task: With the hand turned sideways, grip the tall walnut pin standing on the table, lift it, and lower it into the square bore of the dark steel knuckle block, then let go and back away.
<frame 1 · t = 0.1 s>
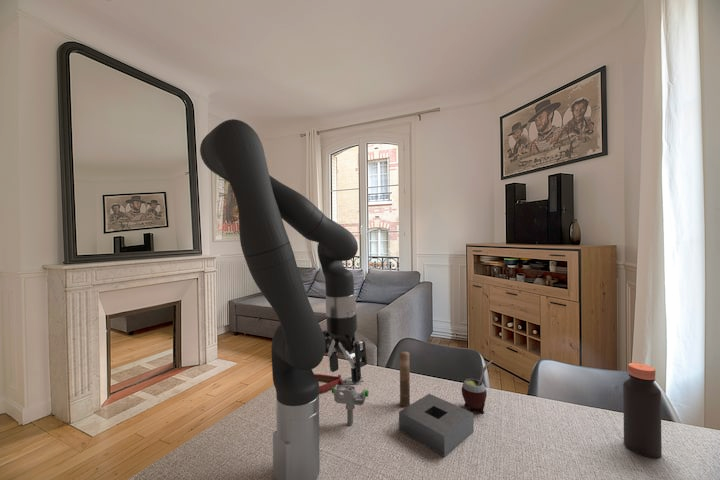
hand: (345, 376, 76), 17 cm above the table, fingers open, 8 cm apart
knuckle block: (436, 430, 81), on the table
mechanical component: (350, 424, 84), on the table
pliers: (331, 388, 106), on the table
pin: (404, 404, 94), on the table
mate gourd: (475, 409, 92), on the table
bottle: (642, 449, 74), on the table
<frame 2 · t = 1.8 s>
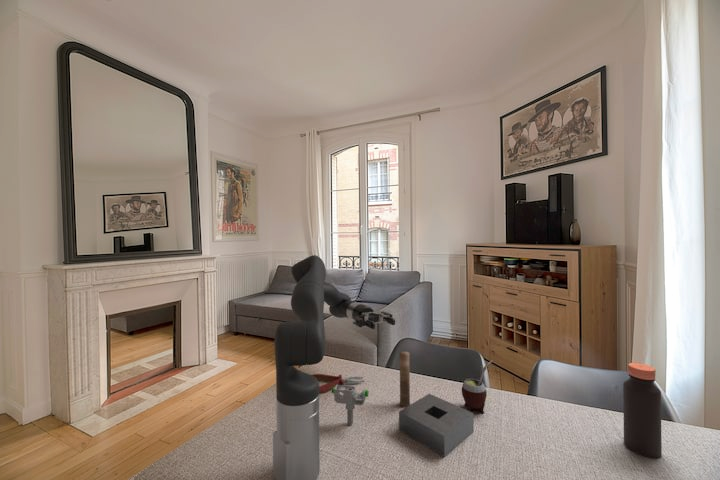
hand: (384, 324, 103), 23 cm above the table, fingers open, 8 cm apart
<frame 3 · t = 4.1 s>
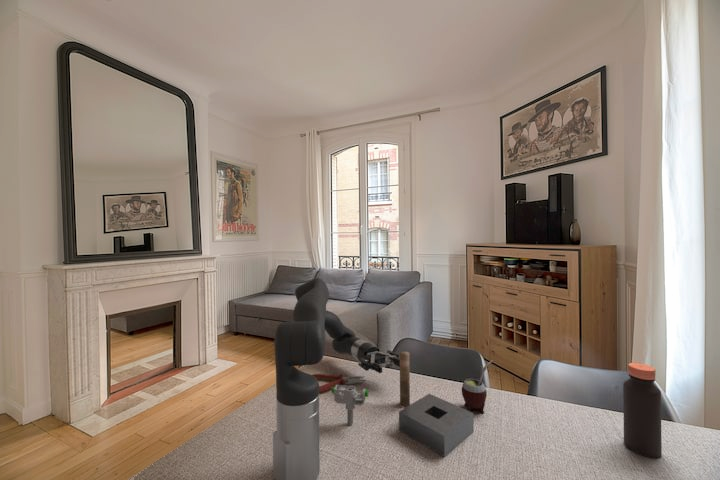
hand: (391, 367, 99), 9 cm above the table, fingers open, 8 cm apart
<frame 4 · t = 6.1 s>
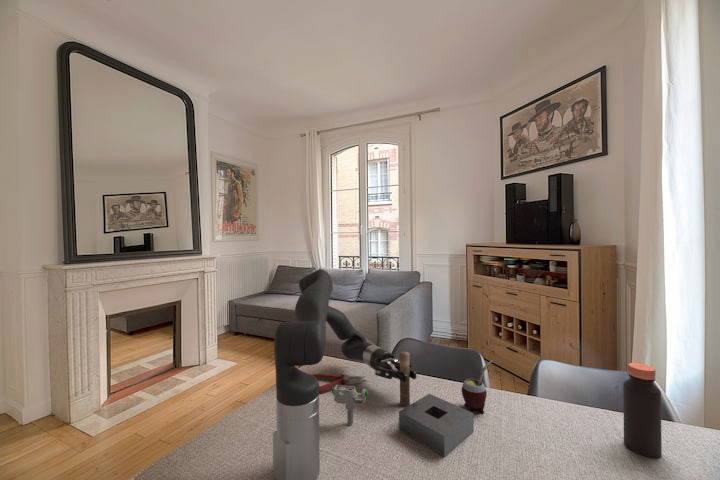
hand: (410, 377, 92), 10 cm above the table, fingers closed on pin, 3 cm apart
pin: (404, 404, 94), on the table, touching gripper
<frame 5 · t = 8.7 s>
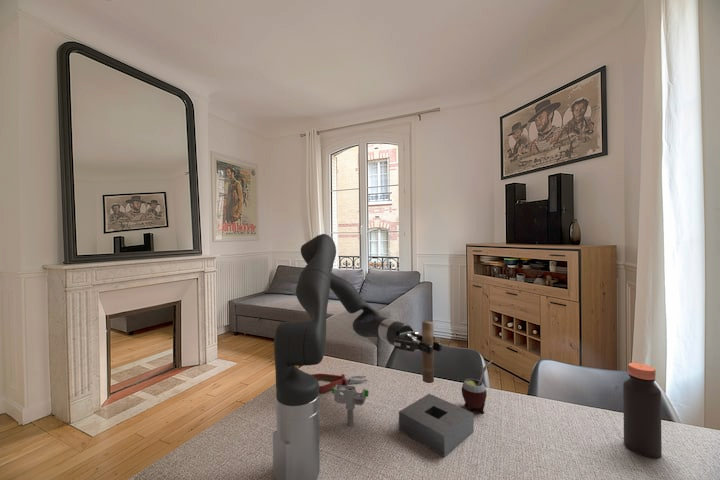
hand: (435, 348, 81), 22 cm above the table, fingers closed on pin, 3 cm apart
pin: (428, 380, 84), point 12 cm above the table, touching gripper
when the fingers open (11 cm above the table, at t = 11.3 s): pin drops 1 cm, resting in knuckle block.
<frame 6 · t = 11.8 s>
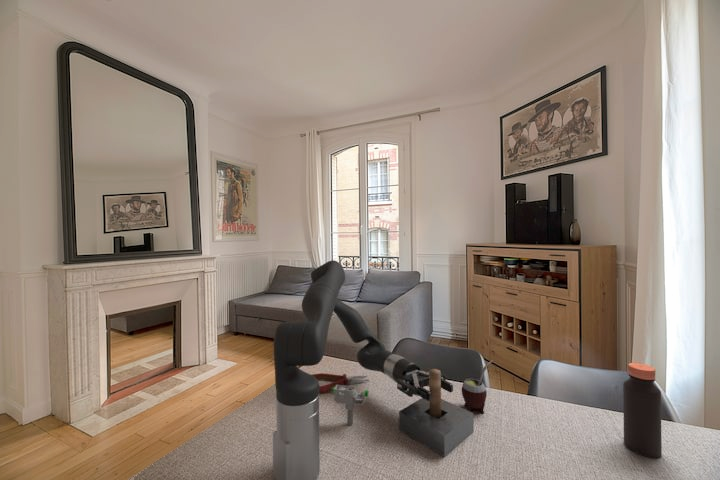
hand: (441, 392, 79), 11 cm above the table, fingers open, 7 cm apart
pin: (435, 430, 81), resting in knuckle block
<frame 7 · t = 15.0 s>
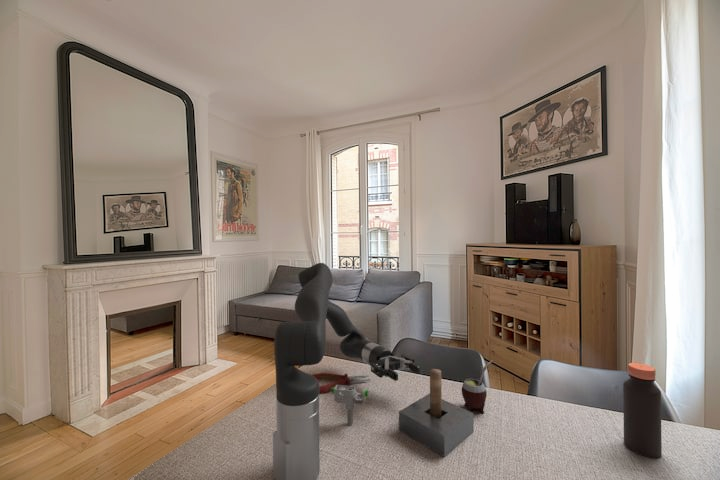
hand: (408, 373, 90), 11 cm above the table, fingers open, 8 cm apart
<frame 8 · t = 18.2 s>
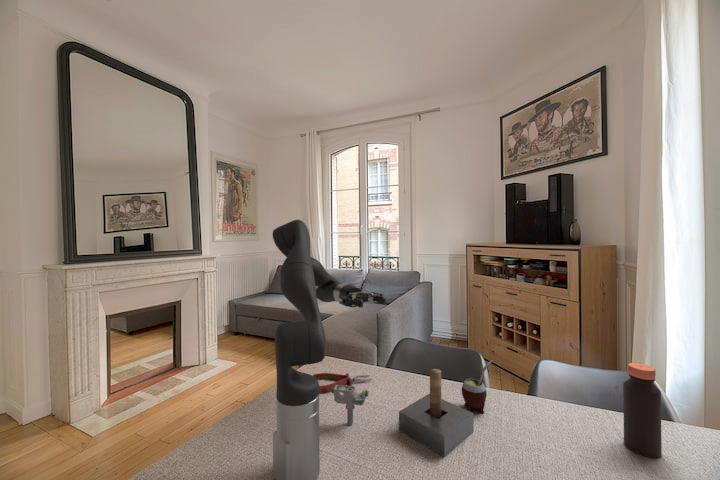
hand: (373, 302, 94), 32 cm above the table, fingers open, 8 cm apart
at the end: pin 0.1 cm off-centre on the knuckle block, point 0.0 cm above the knuckle block's base; pin tilted 0°; the gripper is holding nothing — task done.
